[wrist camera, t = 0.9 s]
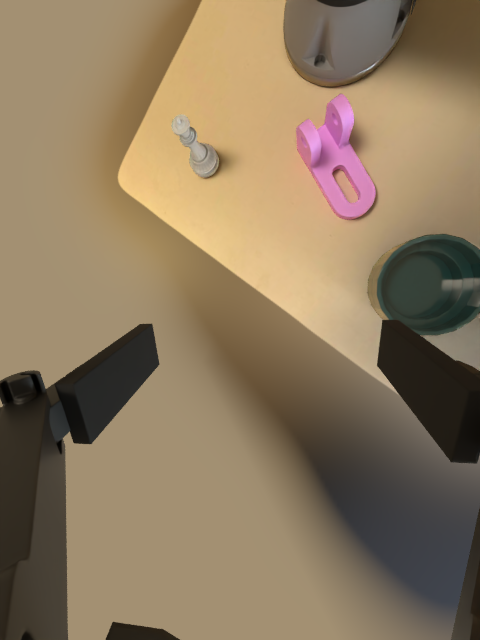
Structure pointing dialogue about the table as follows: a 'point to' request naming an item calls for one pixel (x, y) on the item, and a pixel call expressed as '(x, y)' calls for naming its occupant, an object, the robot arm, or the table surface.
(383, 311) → the bowl
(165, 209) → the table surface
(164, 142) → the table surface
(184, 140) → the chess piece
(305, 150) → the bracket
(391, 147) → the table surface
